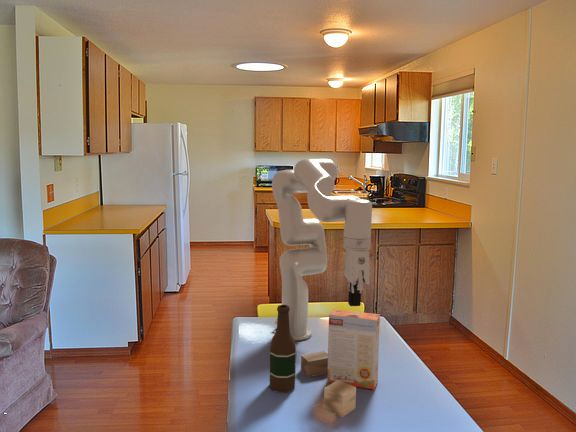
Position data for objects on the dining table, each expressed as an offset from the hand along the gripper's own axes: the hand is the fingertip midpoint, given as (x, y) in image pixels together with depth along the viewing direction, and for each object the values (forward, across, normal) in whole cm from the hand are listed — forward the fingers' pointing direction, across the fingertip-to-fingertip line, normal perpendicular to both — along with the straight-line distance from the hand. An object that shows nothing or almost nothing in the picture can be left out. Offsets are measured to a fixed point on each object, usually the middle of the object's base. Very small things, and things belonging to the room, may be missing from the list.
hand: (354, 305), depth 144 cm
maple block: (+23, -15, +7) cm, 29 cm away
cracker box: (+23, -1, 0) cm, 23 cm away
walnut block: (+24, +7, +9) cm, 26 cm away
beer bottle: (+24, -1, +21) cm, 31 cm away
